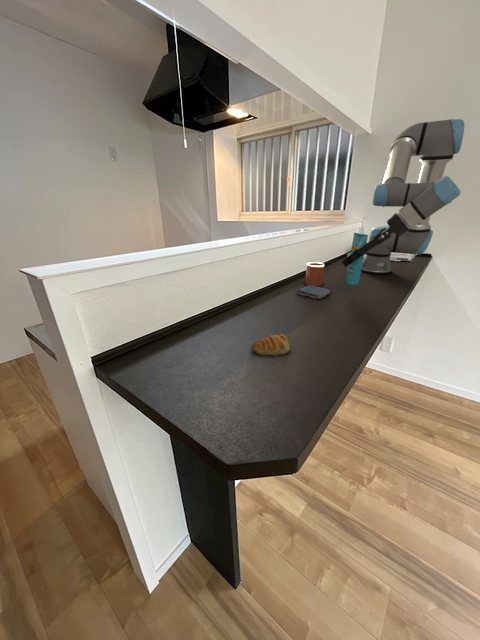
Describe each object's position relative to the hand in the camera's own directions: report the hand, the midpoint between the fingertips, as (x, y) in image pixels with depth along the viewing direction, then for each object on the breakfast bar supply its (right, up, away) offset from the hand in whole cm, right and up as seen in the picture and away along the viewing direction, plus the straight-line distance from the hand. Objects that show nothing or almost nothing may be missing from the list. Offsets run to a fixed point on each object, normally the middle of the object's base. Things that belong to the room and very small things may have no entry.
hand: (345, 262), depth 105 cm
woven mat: (-11, -12, +6) cm, 17 cm away
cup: (-8, -6, +19) cm, 21 cm away
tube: (+3, -8, +2) cm, 9 cm away
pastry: (-33, -31, -34) cm, 57 cm away
